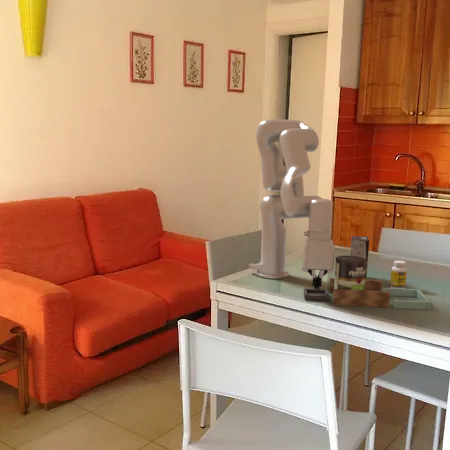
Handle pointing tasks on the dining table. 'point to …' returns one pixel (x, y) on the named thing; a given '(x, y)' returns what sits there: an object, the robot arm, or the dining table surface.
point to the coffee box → (360, 248)
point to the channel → (361, 295)
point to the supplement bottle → (398, 275)
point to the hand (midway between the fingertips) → (316, 288)
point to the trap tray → (316, 294)
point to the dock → (420, 304)
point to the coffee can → (350, 273)
